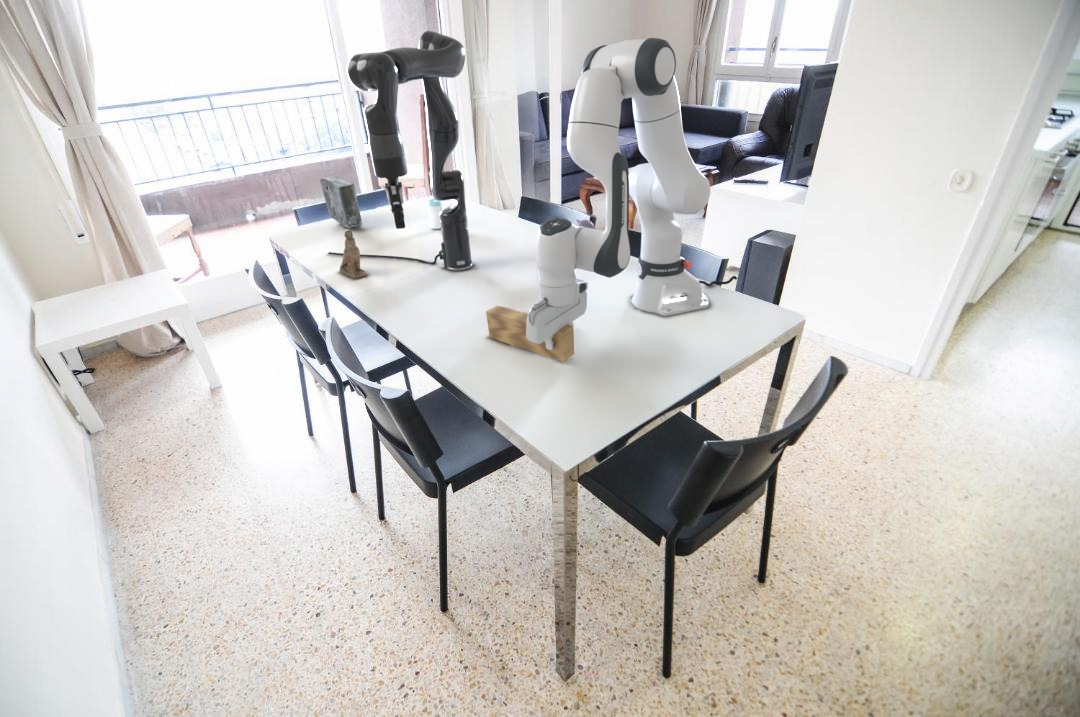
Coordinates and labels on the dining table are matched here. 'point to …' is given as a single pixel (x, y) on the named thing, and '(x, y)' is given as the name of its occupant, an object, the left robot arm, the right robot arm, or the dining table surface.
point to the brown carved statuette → (351, 258)
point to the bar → (513, 331)
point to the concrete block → (341, 201)
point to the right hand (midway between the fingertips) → (557, 343)
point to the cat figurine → (585, 223)
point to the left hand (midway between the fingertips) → (400, 223)
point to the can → (435, 213)
